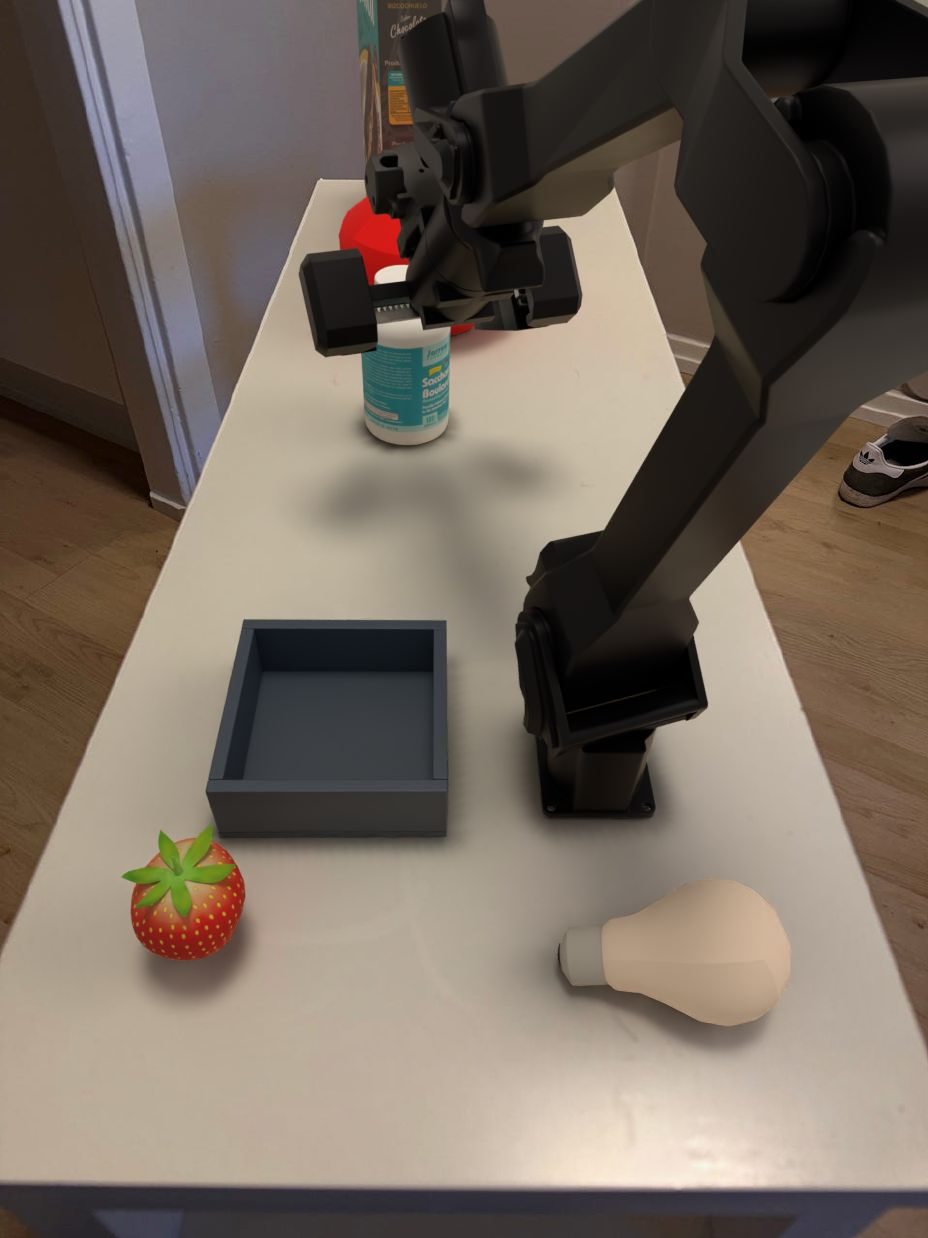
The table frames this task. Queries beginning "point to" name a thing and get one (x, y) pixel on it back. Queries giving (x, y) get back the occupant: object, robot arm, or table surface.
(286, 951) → the table surface
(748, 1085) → the table surface
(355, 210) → the vase
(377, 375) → the pill bottle
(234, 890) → the fruit
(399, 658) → the bin
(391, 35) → the cake mix box
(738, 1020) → the light bulb
